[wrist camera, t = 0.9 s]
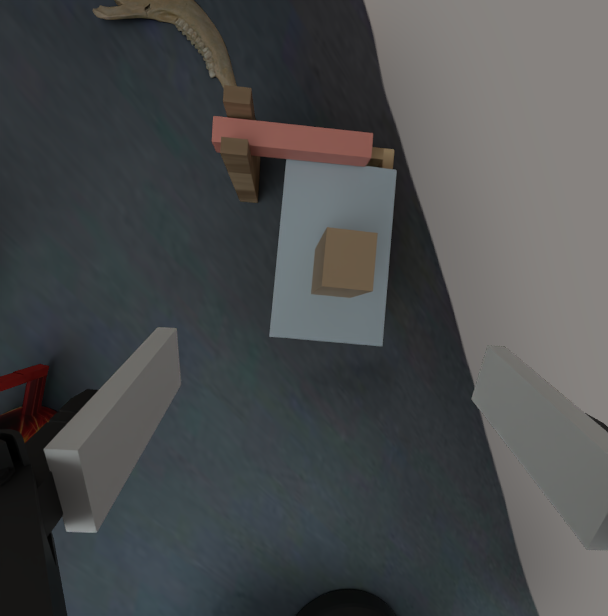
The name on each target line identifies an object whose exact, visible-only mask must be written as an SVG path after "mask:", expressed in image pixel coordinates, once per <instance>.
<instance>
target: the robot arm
mask: <svg viewBox="0 0 608 616" xmlns="http://www.w3.org/2000/svg"><path fill="white" fill-rule="evenodd" d="M180 386H181V377H180V365H179V352H178V339H177V328H164V327H158V328H157V329H156V330H155V331H154V332H153V333H152V334H151V335H150V336H149V337H148V338H147V339H146V340H145V341H144V342H143V344H142V345H141V346H140V347H139V348H138V349H137V350H136V351H135V352H134V353H133V354H132V355H131V356H130V357H129V358H128V360H127V361H126V362H125V363H124V364H123V365H122V366H121V367H120V368H119V369H118V370H117V371H116V372H115V373H114V374H113V376H112V377H111V378H110V379H109V380H108V381H107V382H106V383H105V384H104V385H103V386H102V387H101V388H100V389H99V390H90V389H87V390H85V391H84V392H82V393H80V394H78V395H77V396H75V397H73V398H71V399H70V400H69V401H68V402H67V403H66V404H65V405H64V406H63V407H62V408H61V409H60V410H59V412H58V413H56V414H55V415H54V416H53V417H52V418H51V419H50V420H49V422H46V423H45V424H44V425H43V426H42V427H41V428H40V429H39V430H38V431H37V432H36V433H35V434H34V435H33V436H32V437H31V438H30V439H29V440H28V441H27V442H26V443H24V439H23V437H22V435H21V434H20V432H19V431H15V430H12V429H0V616H67V611H66V605H65V600H64V594H63V589H62V583H61V577H60V572H59V566H58V560H57V555H56V549H55V544H54V538H53V535H52V532H51V531H52V530H53V528H54V527H55V526H56V524H57V523H58V521H59V520H60V518H61V517H63V521H64V524H65V528H66V531H67V532H93V533H97V531H98V530H99V528H100V526H101V524H102V522H103V521H104V519H105V517H106V515H107V514H108V512H109V510H110V508H111V507H112V505H113V503H114V501H115V500H116V498H117V496H118V494H119V493H120V491H121V489H122V487H123V486H124V484H125V482H126V480H127V479H128V477H129V475H130V473H131V472H132V470H133V468H134V466H135V465H136V463H137V461H138V459H139V458H140V456H141V454H142V452H143V451H144V449H145V447H146V445H147V444H148V442H149V440H150V438H151V437H152V435H153V433H154V431H155V429H156V428H157V426H158V424H159V422H160V421H161V419H162V417H163V415H164V414H165V412H166V410H167V408H168V407H169V405H170V403H171V401H172V400H173V398H174V396H175V394H176V393H177V391H178V389H179V387H180ZM472 401H473V402H474V403H475V404H476V406H477V407H478V408H479V410H480V411H481V412H482V414H483V415H484V416H485V418H486V419H487V420H488V421H489V423H490V424H491V425H492V427H493V428H494V429H495V431H496V432H497V433H498V434H499V436H500V437H501V438H502V440H503V441H504V442H505V444H506V445H507V446H508V448H509V449H510V450H511V451H512V453H513V454H514V455H515V457H516V458H517V459H518V461H519V462H520V463H521V464H522V466H523V467H524V468H525V470H526V471H527V472H528V474H529V475H530V476H531V478H532V479H533V480H534V481H535V483H536V484H537V485H538V487H539V488H540V489H541V490H542V492H543V493H544V495H545V496H546V497H547V498H548V500H549V501H550V502H551V504H552V505H553V506H554V508H555V509H556V510H557V512H558V513H559V514H560V515H561V517H562V518H563V519H564V521H565V522H566V523H567V525H568V526H569V527H570V528H571V530H572V531H573V532H574V534H575V535H576V536H577V538H578V539H579V540H580V542H581V543H582V544H583V545H584V547H585V548H586V549H587V550H608V427H607V426H606V425H605V424H604V423H602V422H600V421H598V420H597V419H595V418H593V417H591V416H590V415H588V414H586V413H584V412H583V411H581V410H580V409H579V408H578V407H577V406H576V405H574V404H573V403H572V402H571V401H570V400H568V399H567V398H566V397H565V396H564V395H563V394H561V393H560V392H559V391H558V390H556V389H555V388H554V387H553V386H552V385H550V384H549V383H548V382H547V381H546V380H544V379H543V378H542V377H541V376H540V375H539V374H537V373H536V372H535V371H534V370H533V369H531V368H530V367H529V366H528V365H527V364H525V363H524V362H523V361H522V360H521V359H519V358H518V357H517V356H516V355H514V354H513V353H512V352H511V351H510V350H508V349H507V348H506V347H504V346H487V349H486V352H485V356H484V359H483V362H482V366H481V369H480V372H479V376H478V379H477V382H476V386H475V389H474V392H473V396H472ZM297 616H396V615H395V613H394V612H393V610H392V609H391V608H390V607H389V606H388V605H387V604H386V603H385V602H384V601H382V600H381V599H379V598H378V597H376V596H374V595H372V594H369V593H367V592H363V591H358V590H339V591H334V592H330V593H327V594H325V595H322V596H320V597H318V598H316V599H315V600H313V601H312V602H310V603H309V604H308V605H306V606H305V607H304V608H303V609H302V610H301V611H300V612H299V613H298V614H297Z"/></svg>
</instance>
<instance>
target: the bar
mask: <svg viewBox="0 0 608 616" xmlns="http://www.w3.org/2000/svg"><path fill="white" fill-rule="evenodd" d="M221 137H229V138H238V139H248V142H249V147H250V152H251V155H252V156H261V157H271V158H281V159H291V160H301V161H311V162H321V163H331V164H341V165H351V166H361V167H365V166H366V165H367V163H368V162H369V160H370V159H371V156H372V142H373V133H366V132H357V131H347V130H338V129H329V128H320V127H311V126H301V125H292V124H283V123H274V122H265V121H255V120H246V119H237V118H228V117H219V116H213V131H212V143H213V145H214V147H215V150H216V152H220V148H221Z"/></svg>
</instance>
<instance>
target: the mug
mask: <svg viewBox="0 0 608 616" xmlns="http://www.w3.org/2000/svg"><path fill="white" fill-rule="evenodd" d="M48 369H49V366H47V365H42V364H38V365H35V366H32V367H28V368H25V369H21V370H18V371H15V372H13V373H11V374H8V375H4V376H1V377H0V391H3V390H6V389H9V388H12V387H15V386H17V385H20V384H23V383H26V382H27V384H26V389H25V395H24V400H23V406H22V407H19V408H16V409H13V410H11V411H8V412H6V413H4V414H2V415H0V429H12V430H15V431H19V432H20V434H21V435H22V437H23V439H24V443H26V442H27V441H28V440H29V439H30V438H31V437H32V436H33V435H34V434H35V433H36V432H37V431H38V430H39V429H40V428H41V427H42V426H43V425H44V424H45V423H46V422H49V420H50V419H51V418H52V417H53V416H54V415H55V414H56V413H58V412H57V411H55V410H52V409H50V408H48V407H43V406H41V404H42V399H43V393H44V388H45V382H46V377H47V373H48Z"/></svg>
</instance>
